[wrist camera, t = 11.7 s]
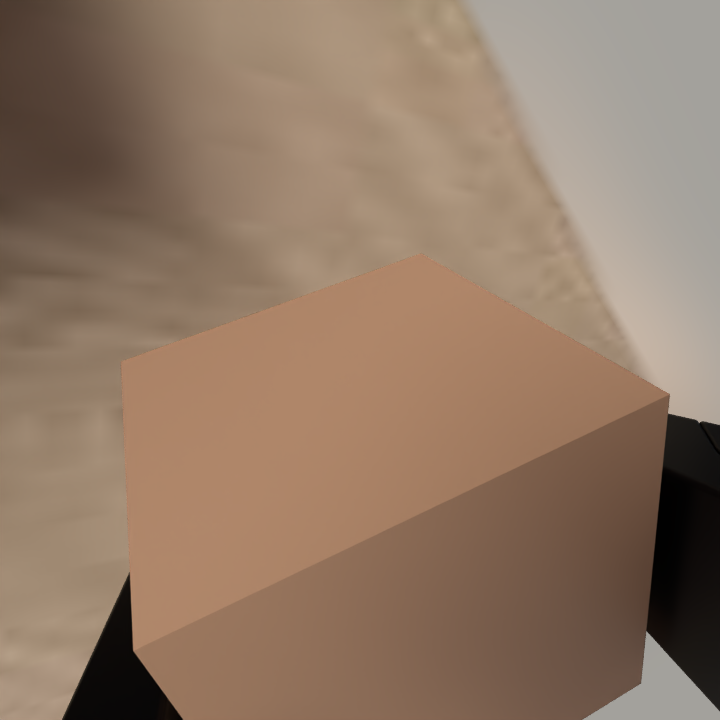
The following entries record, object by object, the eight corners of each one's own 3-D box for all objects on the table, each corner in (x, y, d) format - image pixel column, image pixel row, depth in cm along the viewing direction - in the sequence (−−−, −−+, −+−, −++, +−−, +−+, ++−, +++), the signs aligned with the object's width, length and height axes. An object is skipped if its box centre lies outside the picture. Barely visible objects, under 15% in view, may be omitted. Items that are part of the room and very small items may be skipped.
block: (455, 472, 12) (641, 682, 8) (230, 577, 11) (306, 890, 7) (421, 253, 9) (670, 394, 5) (120, 361, 8) (133, 650, 4)
